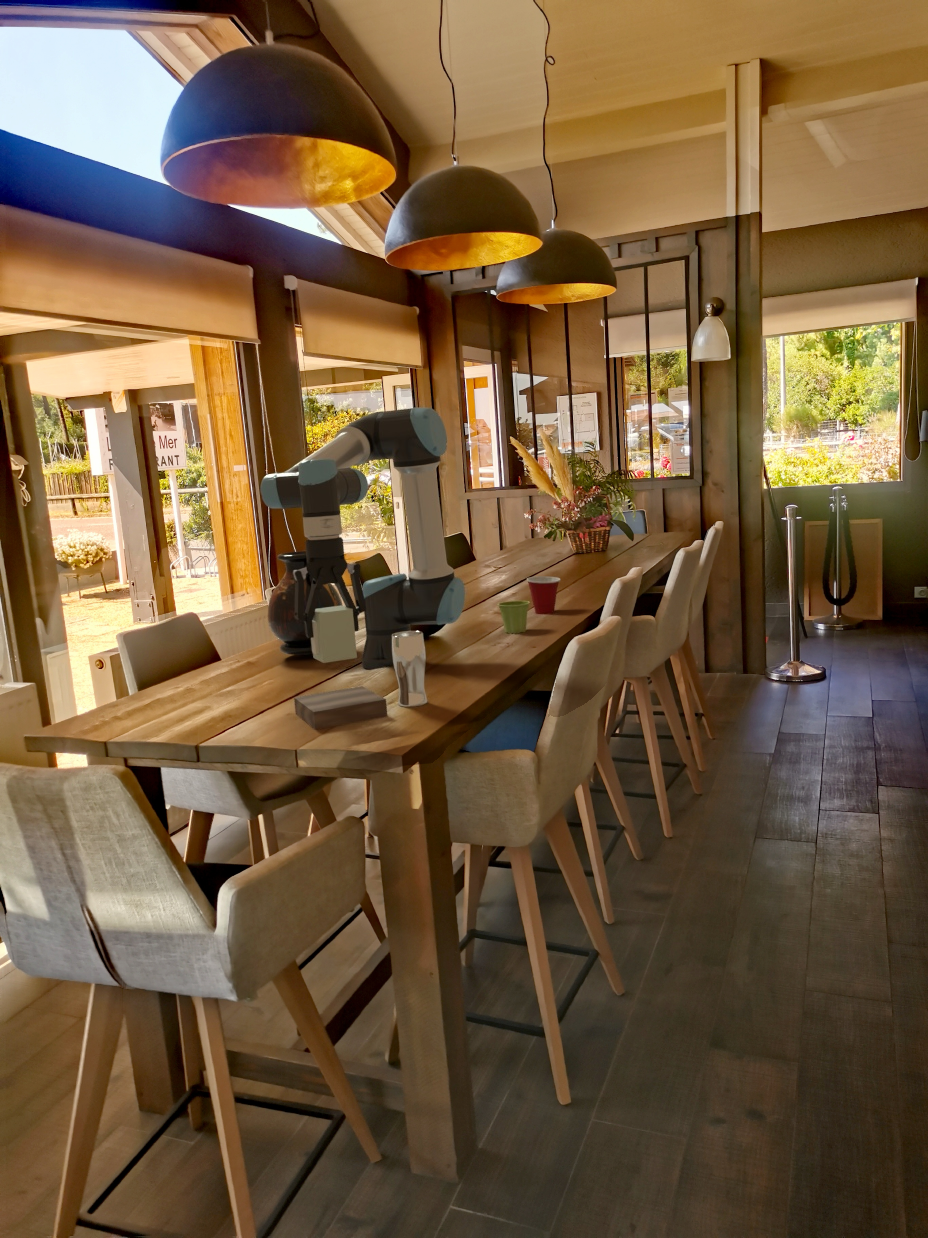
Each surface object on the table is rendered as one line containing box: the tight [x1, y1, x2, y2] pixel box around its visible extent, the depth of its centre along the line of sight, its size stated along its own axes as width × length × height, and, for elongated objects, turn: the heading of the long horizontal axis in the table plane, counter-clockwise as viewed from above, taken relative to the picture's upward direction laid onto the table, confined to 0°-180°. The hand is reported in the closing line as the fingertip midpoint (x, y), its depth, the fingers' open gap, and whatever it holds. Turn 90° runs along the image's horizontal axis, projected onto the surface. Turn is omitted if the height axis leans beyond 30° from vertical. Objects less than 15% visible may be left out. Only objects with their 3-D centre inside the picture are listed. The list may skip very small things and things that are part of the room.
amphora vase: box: [267, 550, 344, 656], centre depth 265 cm, size 22×22×28 cm
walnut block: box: [293, 685, 388, 730], centre depth 191 cm, size 15×15×4 cm
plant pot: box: [497, 600, 531, 634], centre depth 271 cm, size 9×9×9 cm
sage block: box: [312, 604, 358, 664], centre depth 189 cm, size 7×7×10 cm
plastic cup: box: [526, 575, 561, 615], centre depth 298 cm, size 11×11×12 cm
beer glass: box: [392, 630, 428, 708], centre depth 196 cm, size 7×7×15 cm
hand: (334, 650), depth 189 cm, fingers closed on sage block, 7 cm apart
